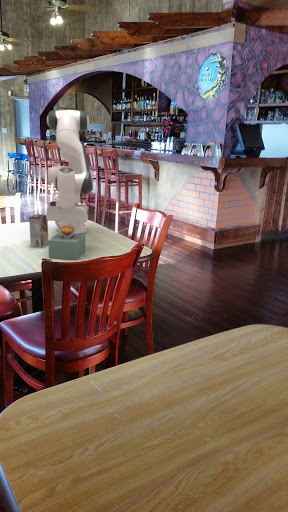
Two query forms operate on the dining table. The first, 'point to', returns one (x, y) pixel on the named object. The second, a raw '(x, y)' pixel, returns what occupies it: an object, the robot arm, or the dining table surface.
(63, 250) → the block
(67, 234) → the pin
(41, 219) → the coffee box
